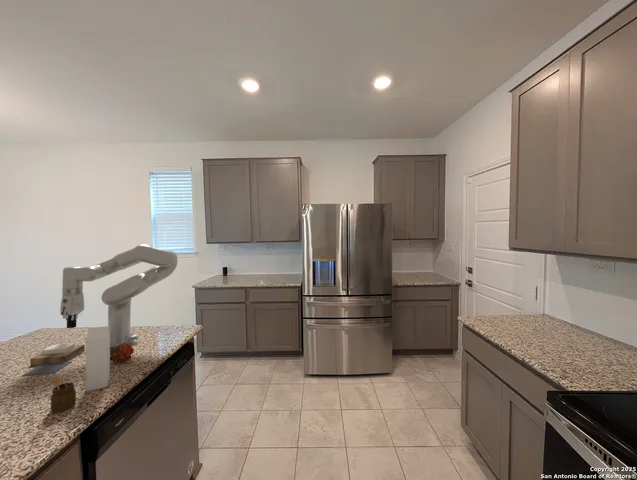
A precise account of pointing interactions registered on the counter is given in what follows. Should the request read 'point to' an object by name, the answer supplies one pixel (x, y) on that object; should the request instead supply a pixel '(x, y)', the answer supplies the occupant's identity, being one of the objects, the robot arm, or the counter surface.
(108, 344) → the milk
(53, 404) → the utensil holder
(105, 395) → the counter surface
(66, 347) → the white rectangular block
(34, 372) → the mat
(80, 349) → the brown square plate
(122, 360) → the dragon fruit
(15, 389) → the counter surface
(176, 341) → the counter surface
